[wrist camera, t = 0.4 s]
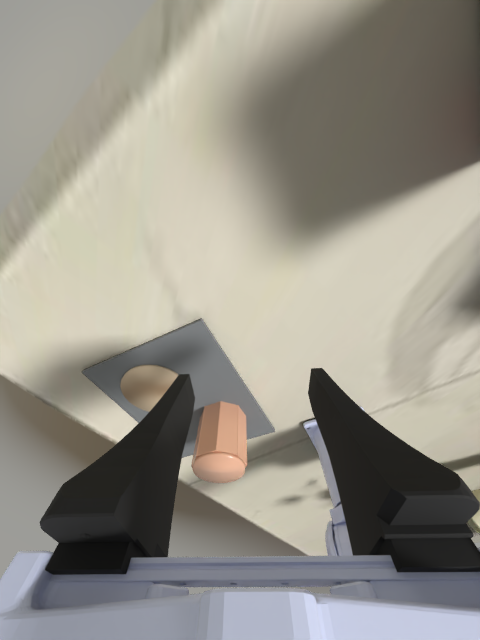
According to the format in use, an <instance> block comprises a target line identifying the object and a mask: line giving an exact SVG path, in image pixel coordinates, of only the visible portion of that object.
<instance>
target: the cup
mask: <svg viewBox="0 0 480 640" xmlns="http://www.w3.org/2000/svg"><path fill="white" fill-rule="evenodd" d="M246 466H247V434H246V415H245V414H244V412H243V411H242V410H241V408H240V407H239V405H235V404H231V403H227V402H222V401H220V402H217V403H214V404H211V405H208V406H205V407H204V410H203V412H202V415H201V417H200V422H199V427H198V433H197V438H196V444H195V449H194V455H193V460H192V466H191V467H192V468H193V472H194V474H195V475H196V476H197V477H199V478H200V479H202V480H205V481H208V482H213V483H227V482H232V481H235V480H237V479H239V478H241V477H242V476H243V475H244V473H245V468H246Z"/></svg>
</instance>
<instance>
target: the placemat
mask: <svg viewBox="0 0 480 640" xmlns="http://www.w3.org/2000/svg"><path fill="white" fill-rule="evenodd" d="M140 365H158V366H162V367H166V368H168V369H170V370H172V371H174V372H176V373H177V374H178V375H179V374H190V379H191V383H192V387H193V391H194V395H195V403H194V410H193V416H192V420H191V423H190V427H189V431H188V435H187V439H186V442H185V446H184V450H183V454H182V458H183V457H187V456H190V455H194V449H195V444H196V438H197V433H198V427H199V422H200V417H201V415H202V412H203V410H204V407H205V406H208V405H211V404H214V403H217V402H220V401H222V402H227V403H231V404H235V405H239V407H240V408H241V410H242V411H243V412H244V414H245V415H246V434H247V439H251V438H254V437H258V436H261V435H265V434H269V433H272V432H275V429H274V427H273V426H272V424H271V423H270V421H269V420H268V418H267V417H266V415H265V414H264V412H263V411H262V409H261V408H260V406H259V405H258V403H257V402H256V400H255V398H254V397H253V395H252V394H251V392H250V391H249V389H248V388H247V386H246V385H245V383H244V382H243V380H242V379H241V377H240V376H239V374H238V373H237V371H236V370H235V368H234V367H233V365H232V364H231V362H230V360H229V359H228V357H227V356H226V354H225V353H224V351H223V350H222V348H221V347H220V345H219V344H218V342H217V341H216V339H215V338H214V336H213V335H212V333H211V332H210V330H209V329H208V327H207V326H206V324H205V322H204V321H203V319H202V318H201V319H199V320H197V321H194V322H192V323H190V324H187V325H185V326H183V327H181V328H178V329H176V330H174V331H171V332H169V333H167V334H165V335H162V336H160V337H158V338H155V339H153V340H151V341H149V342H146V343H144V344H142V345H139V346H137V347H135V348H133V349H130V350H128V351H126V352H123V353H121V354H119V355H117V356H114V357H112V358H110V359H107V360H105V361H103V362H101V363H98V364H96V365H94V366H91V367H89V368H87V369H85V370H83V371H82V373H83V374H84V375H85V376H86V377H87V378H88V379H90V380H91V381H92V382H93V383H94V384H95V385H96V386H97V387H99V388H100V389H101V390H102V391H103V392H104V393H105V394H107V395H108V396H109V397H110V398H111V399H112V400H113V401H114V402H116V403H117V404H118V405H119V406H120V407H121V408H122V409H123V410H125V411H126V412H127V413H128V414H129V415H130V416H131V417H133V418H134V419H135V420H136V421H137V422H138V423H140V422H141V421H142V419H143V418H144V417H145V416H146V415H147V414H148V413H149V412H148V411H145V410H142V409H140V408H138V407H136V406H134V405H133V404H131V403H130V402H129V401H128V400H127V399H126V398H125V397H124V395H123V393H122V391H121V387H120V384H121V380H122V378H123V376H124V375H125V373H126V372H127V371H128V370H130V369H131V368H133V367H136V366H140Z"/></svg>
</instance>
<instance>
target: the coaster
mask: <svg viewBox="0 0 480 640" xmlns="http://www.w3.org/2000/svg"><path fill="white" fill-rule="evenodd" d="M177 376H178V374H177V373H176V372H174V371H172V370H170V369H168V368H166V367H162V366H158V365H140V366H136V367H133V368H131V369H130V370H128V371H127V372H126V373H125V375H124V376H123V378H122V380H121V384H120V387H121V391H122V393H123V395H124V397H125V398H126V399H127V400H128V401H129V402H130V403H131V404H133V405H134V406H136V407H138V408H140V409H142V410H145V411H148V412H150V411H151V409H152V408H153V407H154V406H155V405H156V404H157V402H158V401H159V400H160V399H161V397H162V396H163V395H164V394H165V392H166V391H167V390H168V388H169V387H170V386H171V385H172V383H173V382H174V380H175V379H176V378H177Z"/></svg>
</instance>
